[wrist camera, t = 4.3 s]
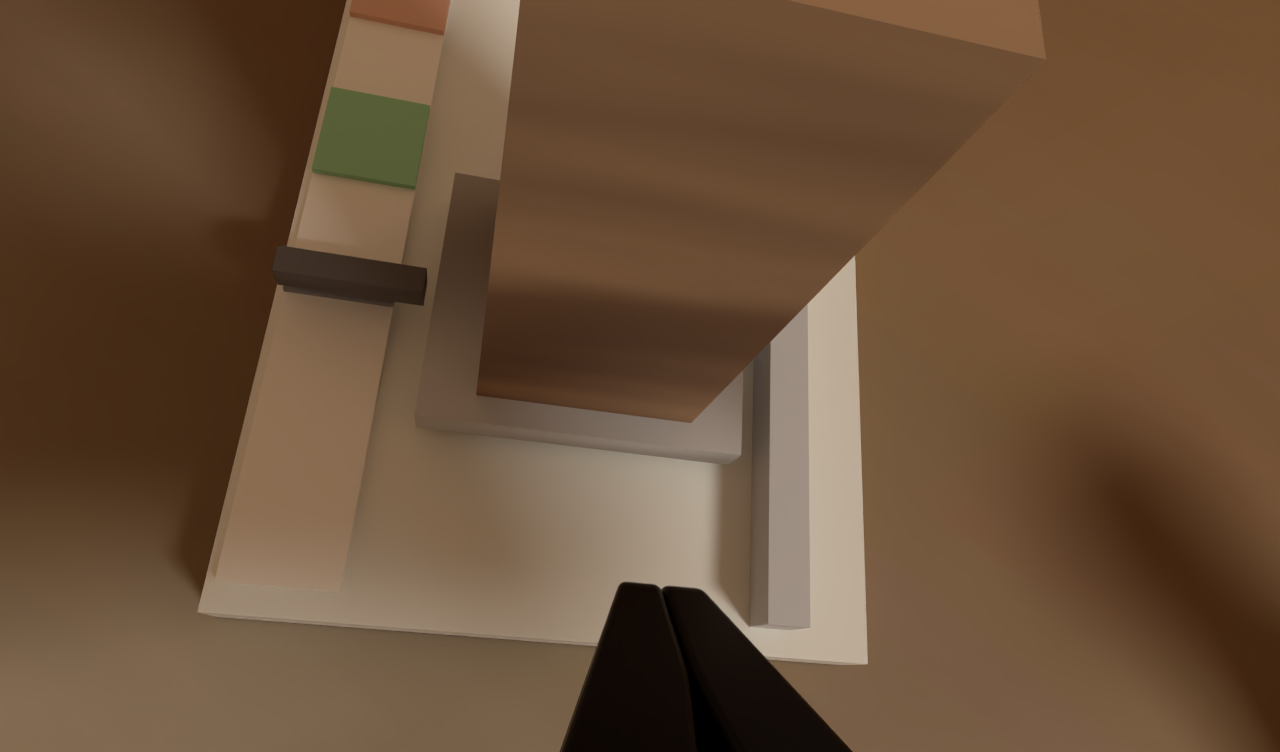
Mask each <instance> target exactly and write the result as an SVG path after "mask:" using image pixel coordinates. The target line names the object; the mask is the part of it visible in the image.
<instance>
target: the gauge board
mask: <svg viewBox="0 0 1280 752" xmlns="http://www.w3.org/2000/svg"><path fill="white" fill-rule="evenodd" d="M519 6H520V0H347V1H346V5H345V9H344V13H343V17H342V21H341V26H340V30H339V34H338V38H337V42H336V46H335V50H334V54H333V58H332V62H331V66H330V71H329V75H328V79H327V83H326V87H325V91H324V95H323V99H322V103H321V107H320V112H319V116H318V120H317V124H316V128H315V132H314V136H313V140H312V144H311V148H310V152H309V157H308V161H307V165H306V169H305V173H304V177H303V181H302V185H301V189H300V193H299V198H298V202H297V206H296V210H295V214H294V218H293V222H292V226H291V230H290V234H289V239H288V243H287V246H288V247H294V248H300V249H307V250H313V251H320V252H326V253H333V254H339V255H346V256H352V257H358V258H365V259H371V260H378V261H384V262H391V263H397V264H403V265H410V266H416V267H423V268H427V288H426V294H425V300H424V305H423V306H419V305H413V304H406V303H399V302H392V301H385V300H379V299H372V298H365V297H358V296H351V295H345V294H338V293H331V292H324V291H317V290H311V289H304V288H297V287H290V286H283V285H278V284H277V288H276V292H275V296H274V300H273V304H272V308H271V312H270V316H269V320H268V325H267V329H266V333H265V337H264V341H263V345H262V349H261V353H260V357H259V361H258V365H257V370H256V374H255V378H254V382H253V386H252V390H251V394H250V398H249V402H248V406H247V411H246V415H245V419H244V423H243V427H242V431H241V435H240V439H239V443H238V447H237V452H236V456H235V460H234V464H233V468H232V472H231V476H230V480H229V484H228V488H227V492H226V497H225V501H224V505H223V509H222V513H221V517H220V521H219V525H218V529H217V533H216V538H215V542H214V546H213V550H212V554H211V558H210V562H209V566H208V570H207V574H206V578H205V583H204V587H203V591H202V595H201V599H200V603H199V607H198V611H197V612H199V613H203V614H207V615H211V616H215V617H226V618H239V619H252V620H265V621H278V622H291V623H304V624H317V625H330V626H342V627H355V628H368V629H381V630H394V631H407V632H420V633H433V634H446V635H459V636H472V637H485V638H498V639H511V640H524V641H537V642H550V643H562V644H575V645H588V646H597V644H598V642H599V639H600V636H601V633H602V630H603V627H604V625H605V622H606V619H607V616H608V613H609V610H610V608H611V605H612V602H613V599H614V596H615V593H616V591H617V588H618V586H619V584H620V583H622V582H637V583H647V584H655V585H657V586H658V587H660V588H661V589H662V588H663V587H665V586H680V587H691V588H698V589H701V590H703V591H704V592H705V593H706V594H707V595H708V596H709V597H710V598H711V599H712V600H713V601H714V602H715V603H716V604H717V605H718V606H719V608H720V609H721V610H722V611H723V612H724V613H725V614H726V615H727V616H728V617H729V618H730V619H731V621H732V622H733V623H734V624H735V625H736V626H737V627H738V628H739V629H740V630H741V631H742V632H743V634H744V635H745V636H746V637H747V638H748V639H749V640H750V641H751V642H752V643H753V644H754V645H755V647H756V648H757V649H758V650H759V651H760V652H761V653H762V654H763V655H764V656H765V657H766V658H767V659H770V660H782V661H795V662H808V663H821V664H834V665H858V664H868V659H867V627H866V595H865V564H864V532H863V500H862V468H861V436H860V404H859V372H858V340H857V308H856V276H855V256H854V257H853V258H852V259H851V260H850V261H849V262H848V263H847V264H846V265H845V266H844V267H843V268H842V269H841V270H840V271H839V272H838V273H837V274H836V275H835V276H834V277H833V278H832V279H831V280H830V281H829V283H828V284H827V285H826V286H825V287H824V288H823V289H822V290H821V291H820V292H819V293H818V294H817V295H816V296H815V297H814V298H813V299H812V300H811V301H810V302H809V303H808V304H807V305H806V306H805V307H804V308H803V309H802V310H801V311H800V312H799V313H798V314H797V315H796V316H795V317H794V318H793V319H792V320H791V321H790V322H789V323H788V325H787V326H786V327H785V328H784V329H783V330H782V331H781V332H780V333H779V334H778V335H777V336H776V337H775V338H774V339H773V340H772V341H771V342H770V343H769V344H768V345H767V346H766V347H765V348H764V349H763V350H762V351H761V352H760V353H759V354H758V355H757V356H756V357H755V358H754V359H753V360H752V361H751V362H750V363H749V364H748V365H747V367H746V368H745V369H744V370H743V400H742V446H741V456H740V457H738V458H737V459H736V460H734V461H733V462H731V463H730V464H729V465H723V464H714V463H706V462H698V461H690V460H681V459H673V458H665V457H657V456H648V455H640V454H632V453H624V452H615V451H607V450H599V449H591V448H582V447H574V446H566V445H557V444H549V443H541V442H533V441H524V440H516V439H508V438H500V437H491V436H483V435H475V434H467V433H458V432H450V431H442V430H433V429H425V428H417V427H416V424H415V415H414V414H415V408H416V403H417V397H418V391H419V385H420V379H421V373H422V367H423V361H424V355H425V349H426V343H427V337H428V331H429V325H430V319H431V313H432V308H433V302H434V296H435V290H436V284H437V278H438V272H439V266H440V260H441V254H442V248H443V242H444V236H445V230H446V224H447V218H448V212H449V207H450V201H451V195H452V189H453V183H454V177H455V173H461V174H467V175H472V176H478V177H484V178H489V179H495V180H500V176H501V167H502V158H503V149H504V140H505V131H506V122H507V113H508V104H509V95H510V86H511V77H512V68H513V60H514V51H515V42H516V33H517V24H518V15H519Z"/></svg>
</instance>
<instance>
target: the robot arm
mask: <svg viewBox="0 0 1280 752" xmlns="http://www.w3.org/2000/svg"><path fill="white" fill-rule="evenodd" d="M560 752H852V750H851V749H850V748H849V747H848V746H847V745H846V744H845V743H844V742H843V741H842V740H841V739H840V737H839V736H838V735H837V734H836V733H835V732H834V731H833V730H832V729H831V728H830V727H829V726H828V724H827V723H826V722H825V721H824V720H823V719H822V718H821V717H820V716H819V715H818V714H817V713H816V711H815V710H814V709H813V708H812V707H811V706H810V705H809V704H808V703H807V702H806V701H805V700H804V698H803V697H802V696H801V695H800V694H799V693H798V692H797V691H796V690H795V689H794V688H793V687H792V685H791V684H790V683H789V682H788V681H787V680H786V679H785V678H784V677H783V676H782V675H781V674H780V673H779V671H778V670H777V669H776V668H775V667H774V666H773V665H772V664H771V663H770V662H769V661H768V660H767V658H766V657H765V656H764V655H763V654H762V653H761V652H760V651H759V650H758V649H757V648H756V647H755V645H754V644H753V643H752V642H751V641H750V640H749V639H748V638H747V637H746V636H745V635H744V634H743V632H742V631H741V630H740V629H739V628H738V627H737V626H736V625H735V624H734V623H733V622H732V621H731V619H730V618H729V617H728V616H727V615H726V614H725V613H724V612H723V611H722V610H721V609H720V608H719V606H718V605H717V604H716V603H715V602H714V601H713V600H712V599H711V598H710V597H709V596H708V595H707V594H706V593H705V592H704V591H703V590H701V589H698V588H691V587H680V586H665V587H663V588H662V589H661V588H660V587H658V586H657V585H655V584H647V583H637V582H622V583H620V584H619V586H618V588H617V591H616V593H615V596H614V599H613V602H612V605H611V608H610V610H609V613H608V616H607V619H606V622H605V625H604V627H603V630H602V633H601V636H600V639H599V642H598V644H597V647H596V650H595V653H594V656H593V659H592V661H591V664H590V667H589V670H588V673H587V676H586V679H585V681H584V684H583V687H582V690H581V693H580V696H579V698H578V701H577V704H576V707H575V710H574V713H573V715H572V718H571V721H570V724H569V727H568V730H567V732H566V735H565V738H564V741H563V744H562V747H561V749H560Z"/></svg>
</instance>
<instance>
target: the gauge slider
mask: <svg viewBox="0 0 1280 752" xmlns="http://www.w3.org/2000/svg"><path fill="white" fill-rule="evenodd" d="M1045 60H1046V55H1045V47H1044V40H1043V33H1042V25H1041V18H1040V11H1039V3H1038V0H520V6H519V15H518V24H517V33H516V42H515V51H514V60H513V68H512V77H511V86H510V95H509V104H508V113H507V122H506V131H505V140H504V149H503V158H502V167H501V176H500V180H495V179H489V178H484V177H478V176H472V175H467V174H461V173H455V177H454V183H453V189H452V195H451V201H450V207H449V212H448V218H447V224H446V230H445V236H444V242H443V248H442V254H441V260H440V266H439V272H438V278H437V284H436V290H435V296H434V302H433V308H432V313H431V319H430V325H429V331H428V337H427V343H426V349H425V355H424V361H423V367H422V373H421V379H420V385H419V391H418V397H417V403H416V408H415V414H414V415H415V424H416V427H417V428H425V429H433V430H442V431H450V432H458V433H467V434H475V435H483V436H491V437H500V438H508V439H516V440H524V441H533V442H541V443H549V444H557V445H566V446H574V447H582V448H591V449H599V450H607V451H615V452H624V453H632V454H640V455H648V456H657V457H665V458H673V459H681V460H690V461H698V462H706V463H714V464H723V465H729V464H730V463H731V462H733V461H734V460H736V459H737V458H738V457H740V456H741V446H742V400H743V370H744V369H745V368H746V367H747V365H748V364H749V363H750V362H751V361H752V360H753V359H754V358H755V357H756V356H757V355H758V354H759V353H760V352H761V351H762V350H763V349H764V348H765V347H766V346H767V345H768V344H769V343H770V342H771V341H772V340H773V339H774V338H775V337H776V336H777V335H778V334H779V333H780V332H781V331H782V330H783V329H784V328H785V327H786V326H787V325H788V323H789V322H790V321H791V320H792V319H793V318H794V317H795V316H796V315H797V314H798V313H799V312H800V311H801V310H802V309H803V308H804V307H805V306H806V305H807V304H808V303H809V302H810V301H811V300H812V299H813V298H814V297H815V296H816V295H817V294H818V293H819V292H820V291H821V290H822V289H823V288H824V287H825V286H826V285H827V284H828V283H829V281H830V280H831V279H832V278H833V277H834V276H835V275H836V274H837V273H838V272H839V271H840V270H841V269H842V268H843V267H844V266H845V265H846V264H847V263H848V262H849V261H850V260H851V259H852V258H853V257H854V256H855V255H856V254H857V253H858V252H859V251H860V250H861V249H862V248H863V247H864V246H865V245H866V244H867V243H868V242H869V241H870V239H871V238H872V237H873V236H874V235H875V234H876V233H877V232H878V231H879V230H880V229H881V228H882V227H883V226H884V225H885V224H886V223H887V222H888V221H889V220H890V219H891V218H892V217H893V216H894V215H895V214H896V213H897V212H898V211H899V210H900V209H901V208H902V207H903V206H904V205H905V204H906V203H907V202H908V201H909V200H910V199H911V198H912V196H913V195H914V194H915V193H916V192H917V191H918V190H919V189H920V188H921V187H922V186H923V185H924V184H925V183H926V182H927V181H928V180H929V179H930V178H931V177H932V176H933V175H934V174H935V173H936V172H937V171H938V170H939V169H940V168H941V167H942V166H943V165H944V164H945V163H946V162H947V161H948V160H949V159H950V158H951V157H952V156H953V154H954V153H955V152H956V151H957V150H958V149H959V148H960V147H961V146H962V145H963V144H964V143H965V142H966V141H967V140H968V139H969V138H970V137H971V136H972V135H973V134H974V133H975V132H976V131H977V130H978V129H979V128H980V127H981V126H982V125H983V124H984V123H985V122H986V121H987V120H988V119H989V118H990V117H991V116H992V115H993V114H994V112H995V111H996V110H997V109H998V108H999V107H1000V106H1001V105H1002V104H1003V103H1004V102H1005V101H1006V100H1007V99H1008V98H1009V97H1010V96H1011V95H1012V94H1013V93H1014V92H1015V91H1016V90H1017V89H1018V88H1019V87H1020V86H1021V85H1022V84H1023V83H1024V82H1025V81H1026V80H1027V79H1028V78H1029V77H1030V76H1031V75H1032V74H1033V73H1034V72H1035V71H1036V69H1037V68H1038V67H1039V66H1040V65H1041V64H1042V63H1043V62H1044V61H1045ZM272 272H273V274H274V277H275V279H276V281H277V284H278V285H283V286H290V287H297V288H304V289H311V290H317V291H324V292H331V293H338V294H345V295H351V296H358V297H365V298H372V299H379V300H385V301H392V302H399V303H406V304H413V305H419V306H423V305H424V300H425V294H426V288H427V268H423V267H416V266H410V265H403V264H397V263H391V262H384V261H378V260H371V259H365V258H358V257H352V256H346V255H339V254H333V253H326V252H320V251H313V250H307V249H300V248H294V247H288V246H281V245H278V247H277V251H276V255H275V259H274V263H273V267H272Z"/></svg>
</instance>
